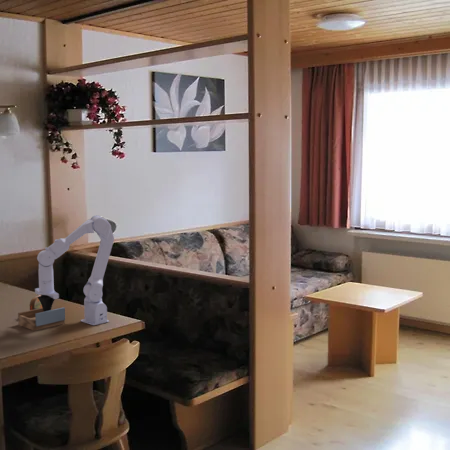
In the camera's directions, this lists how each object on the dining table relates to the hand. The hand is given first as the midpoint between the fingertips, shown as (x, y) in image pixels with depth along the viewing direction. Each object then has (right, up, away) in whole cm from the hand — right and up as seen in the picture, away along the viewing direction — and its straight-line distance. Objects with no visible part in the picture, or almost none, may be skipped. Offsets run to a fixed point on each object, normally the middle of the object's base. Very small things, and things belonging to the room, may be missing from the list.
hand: (47, 313), depth 252 cm
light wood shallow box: (-3, -5, +4) cm, 7 cm away
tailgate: (+1, -4, -1) cm, 4 cm away
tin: (-8, -3, +19) cm, 21 cm away
